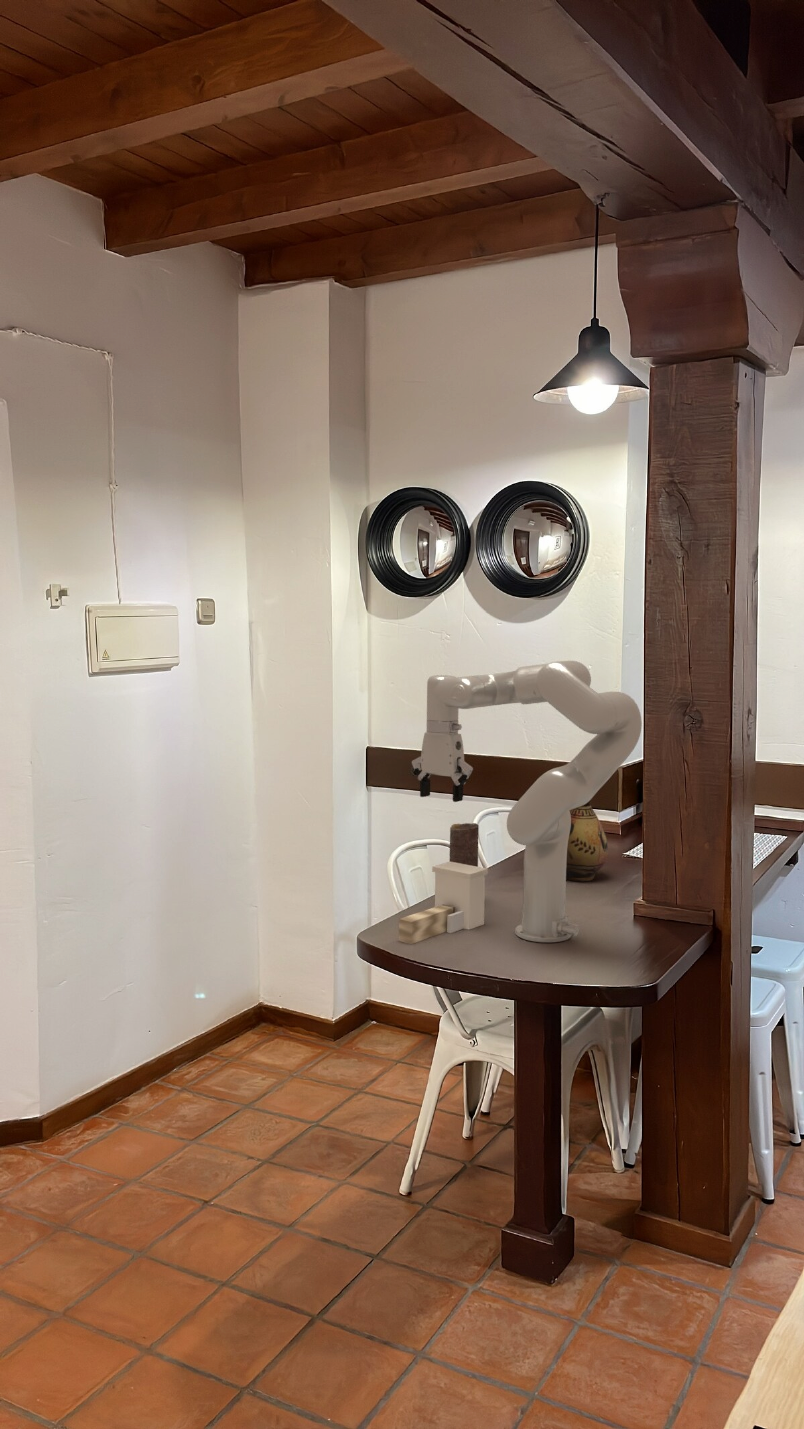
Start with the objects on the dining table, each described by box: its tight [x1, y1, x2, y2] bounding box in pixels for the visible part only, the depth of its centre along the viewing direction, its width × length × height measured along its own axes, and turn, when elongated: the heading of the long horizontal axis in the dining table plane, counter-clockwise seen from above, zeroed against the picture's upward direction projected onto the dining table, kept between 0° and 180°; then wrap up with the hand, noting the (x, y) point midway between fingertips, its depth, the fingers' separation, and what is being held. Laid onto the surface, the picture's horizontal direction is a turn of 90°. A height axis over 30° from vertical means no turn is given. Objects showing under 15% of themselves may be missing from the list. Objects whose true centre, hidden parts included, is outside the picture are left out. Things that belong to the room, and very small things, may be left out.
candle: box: [448, 822, 480, 867], centre depth 270 cm, size 8×7×20 cm
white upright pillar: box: [431, 861, 489, 934], centre depth 250 cm, size 12×11×13 cm
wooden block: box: [398, 904, 455, 945], centre depth 243 cm, size 16×4×5 cm, turn 140°
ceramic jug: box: [566, 801, 609, 882], centre depth 297 cm, size 17×15×30 cm
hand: (441, 798), depth 257 cm, fingers open, 9 cm apart
